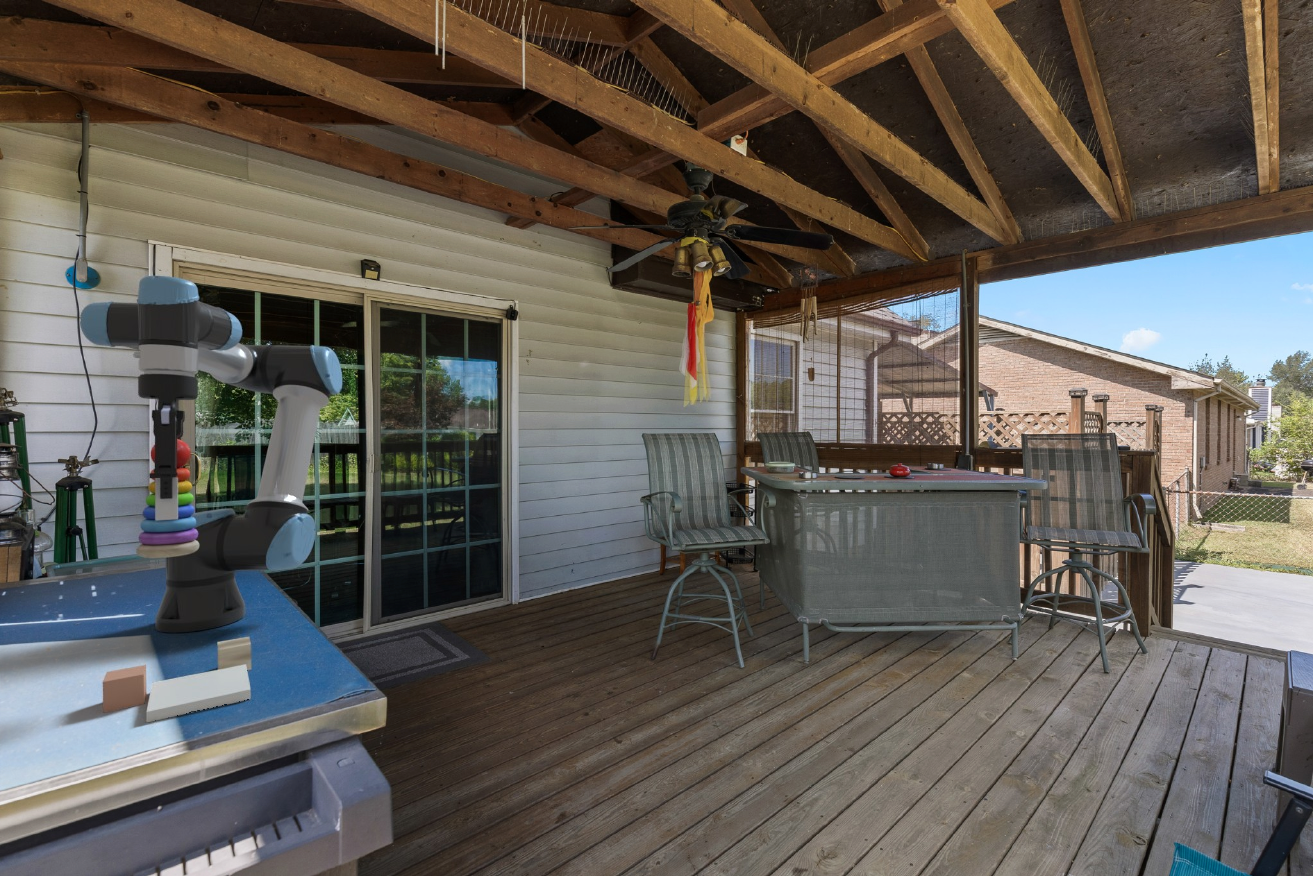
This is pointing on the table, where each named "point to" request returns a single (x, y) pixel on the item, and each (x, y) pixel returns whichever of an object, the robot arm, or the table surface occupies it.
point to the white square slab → (198, 692)
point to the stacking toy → (175, 533)
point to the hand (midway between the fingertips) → (168, 516)
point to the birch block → (234, 653)
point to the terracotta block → (124, 688)
